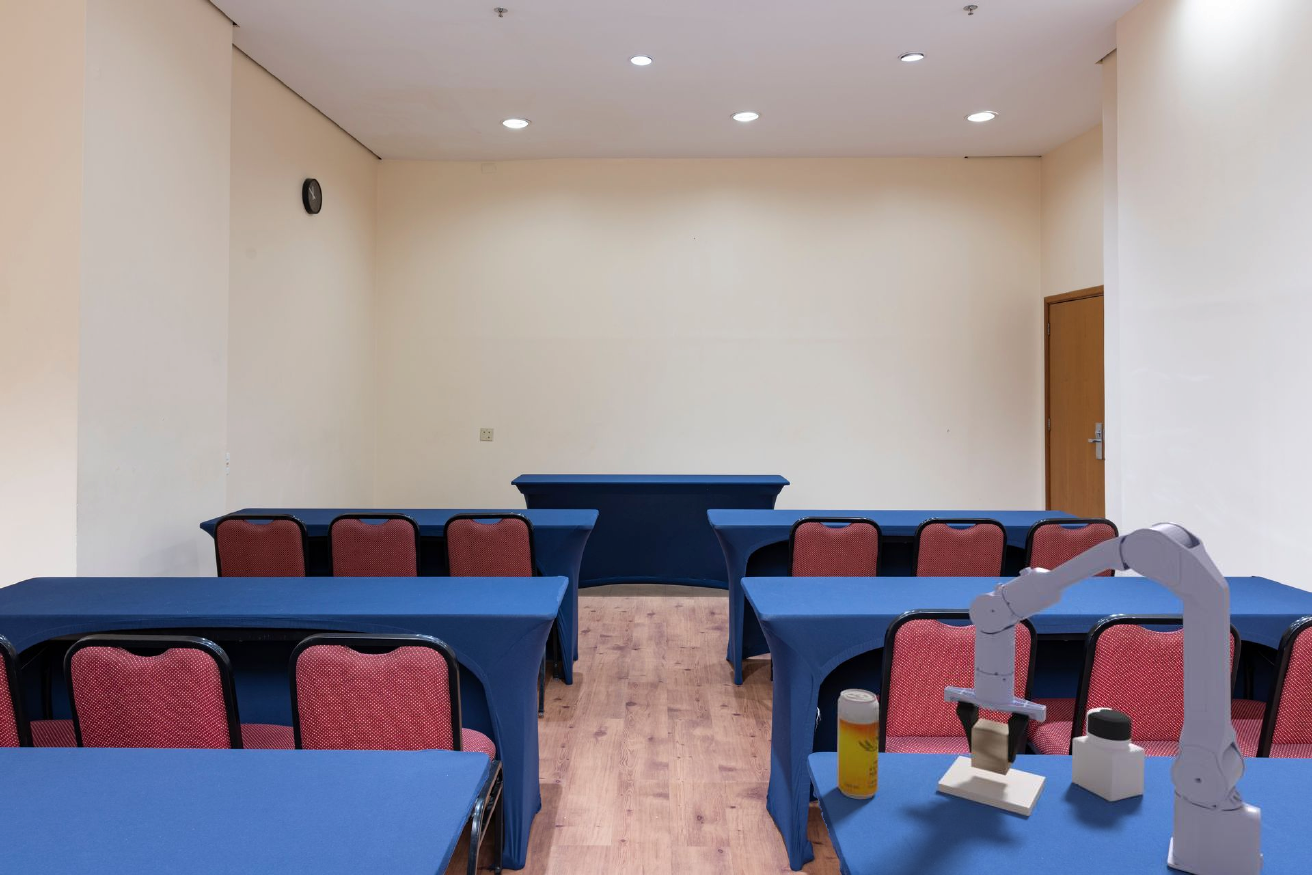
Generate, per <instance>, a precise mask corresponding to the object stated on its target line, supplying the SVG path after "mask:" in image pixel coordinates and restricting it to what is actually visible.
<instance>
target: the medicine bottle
mask: <svg viewBox="0 0 1312 875" xmlns="http://www.w3.org/2000/svg"><path fill="white" fill-rule="evenodd" d="M1132 721H1133V720H1132V719H1131V718H1130V716H1129V715H1128V714H1126V713H1124V712H1122V711H1120V710H1117V709H1113V708H1111V707H1096V708H1091V709H1089V710H1088V711H1087V712H1086V730H1085V731H1086V732H1085V733H1086V735H1084V736H1083V735H1082V736H1078V737H1077V736H1076V737H1073V738H1072V755H1071V756H1072V758H1071V782H1072V783H1073V782H1074V783H1073V784H1076V785H1077V784H1078V786H1079V787H1081V788H1082V789H1085V790H1086V791H1089V792H1091V793H1092V794H1095V795H1097V796H1098V797H1101V798H1103V799H1105V800H1106V801H1108V802H1116V801H1120V800H1123V799H1124V800H1125V799H1128V798H1132V797H1136V796H1140V795H1143V794H1144V793H1145V791H1144V790H1145V789H1144V788H1145V785H1144V784H1145V757H1146V755H1145V753H1146V751H1145V749H1144V748H1143V747H1141V746H1139V745H1137V744H1133V743H1132Z"/></svg>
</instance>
